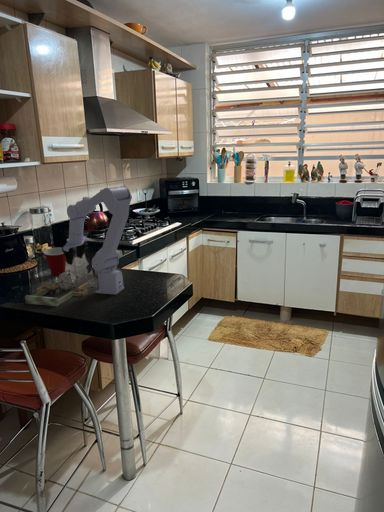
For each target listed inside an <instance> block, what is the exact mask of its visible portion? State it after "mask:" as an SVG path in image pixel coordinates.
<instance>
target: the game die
mask: <svg viewBox="0 0 384 512" xmlns="http://www.w3.org/2000/svg"><path fill="white" fill-rule="evenodd" d="M58 274H59V276H57V277H58V278H57V282H55V283H56V284H58V285H59V287H60V288H61V289H63V292H64V293H65V292H66V291H67V290H69V289H72V288H74V289H76V286H75V285H76V281H77V278H79V275H77V276H76V275H75V274H74V273H72V272H71V271H70V269H68V271H65V272H64V273H59V272H58Z"/></svg>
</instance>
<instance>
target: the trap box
mask: <svg viewBox="0 0 384 512" xmlns="http://www.w3.org/2000/svg"><path fill="white" fill-rule="evenodd" d="M56 283H57V282H55V283H53V284H51V285H41V286H39V287H37V288H35V292H36V293H33V294H32V295H29V294H26V295H24V298H25V304H29V305H40V306H50V307H58V306H60V305H61V304H63V303H65V302H66V301H68V300H70V299H71V298H72V297H84V296H85V295H87V294H89V293H90V292H89V289H88V288H90V283H89V282H85V283H83V284H81V285H79V286H77V287H76V288H77V289H76V290H77V291H73V290H72V291H71V290H70V291H69V292H68V293H66V294H64V295H62V296H60V297H59V298H58V297H52V296H51V297H50V296H44V295H46V294H48V292H49V291H51V290H52V291H54V290H55V289H57V288H59V287H60V286H59V285H58V284H56Z"/></svg>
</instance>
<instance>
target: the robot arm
mask: <svg viewBox="0 0 384 512" xmlns="http://www.w3.org/2000/svg"><path fill="white" fill-rule="evenodd" d="M132 198H133V197H132V193H131V191H130V189H129V187H128V186H126V185H120V186H113V187H104V188H102V189H100V191H98V192H97V193H96V194H94V195H93V196H91V197H90V196H83V197H82V199H81V200H79V201H76V202H75V204H69V205H68V206H67V208H66V214H67V216H68V218H69V225H68V226H69V227H68V229H69V230H68V238H67V239H66V243H65V245H63V247H61V248H62V251H63V253H64V255H65V257H66V265H67V264H68V265H71V266H72V265H73V263H74V257H75V254H76V257H77V258H79V259H83V256H84V254H85V251H86V249H87V247H88V246H89V243H88V242H87V241H88V236H86V235H84V229H85V227H84V225H85V223H84V222H86V217H87V216H88V214H90V213H92V212H94V211H95V210H96V208H97V206H98V205H100V204H102V203H103V204H104V206H105V208H106V209H107V211H108V212H109V214H111V215H112V216H111V221H110V223H109V227H108V229H107V232H106V235H105V239H104V241H103V244H102V246H101V248H100V249H99V250H98V251H97V252H95V255H93V257H92V259H91V267H92V268H93V270H95V272H97V279H98V289H97V290H96V291H94V293H95V294H102V295H103V294H104V295H105V294H106V295H117V294H118V293H120V292H121V291H123V290H124V289H125V286H124V278H123V273H122V271H121V270H118V265H119V262H120V255H121V254H120V252H119V251H118V247H119V244H120V242H121V238H122V236H123V232H124V230H125V227H126V225H127V222H128V219H129V215H130V205H131V202H132V200H133V199H132ZM73 248H76V250H73Z"/></svg>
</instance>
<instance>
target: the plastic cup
mask: <svg viewBox="0 0 384 512" xmlns="http://www.w3.org/2000/svg"><path fill="white" fill-rule="evenodd" d="M62 248H63V247H51V248H46V249H45V250H43V254H44V256H45V259H46V261H47V265H48V267H49V270H50V273H51V276H53V277H59V274H58V272H59V273H64V272H66V265H67V261H66V257H65V255H64V253H63V251H62Z"/></svg>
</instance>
